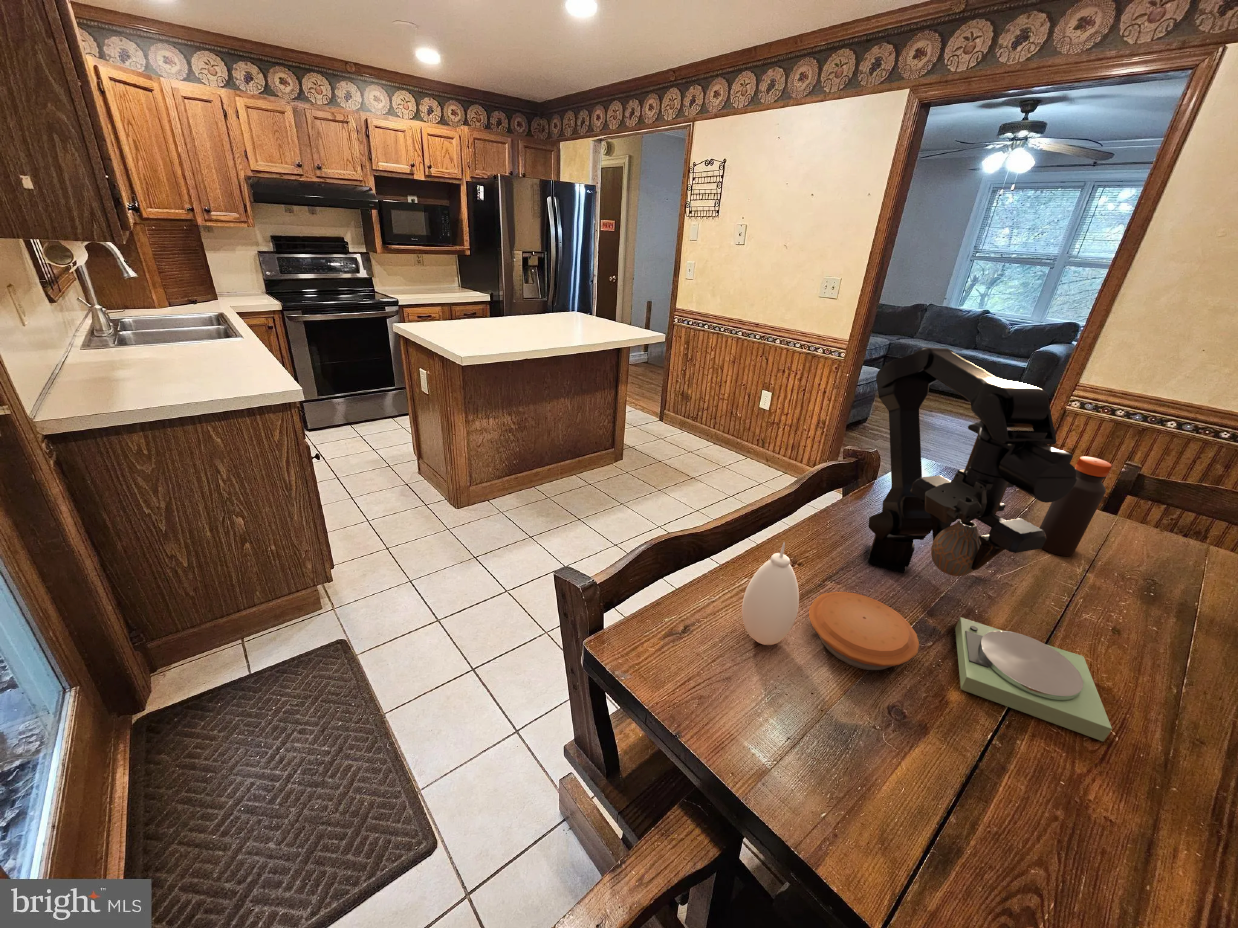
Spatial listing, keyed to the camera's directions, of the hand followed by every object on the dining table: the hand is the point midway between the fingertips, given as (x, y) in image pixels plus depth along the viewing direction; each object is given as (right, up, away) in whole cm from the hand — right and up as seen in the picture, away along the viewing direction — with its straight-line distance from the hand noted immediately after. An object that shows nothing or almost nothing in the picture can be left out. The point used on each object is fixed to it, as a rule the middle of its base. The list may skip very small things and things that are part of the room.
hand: (954, 555), depth 83 cm
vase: (0, -2, +1) cm, 3 cm away
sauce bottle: (-32, -12, -3) cm, 34 cm away
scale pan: (+5, -14, -9) cm, 17 cm away
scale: (+4, -16, -8) cm, 19 cm away
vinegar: (+37, -3, +25) cm, 45 cm away
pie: (-17, -13, -3) cm, 22 cm away
